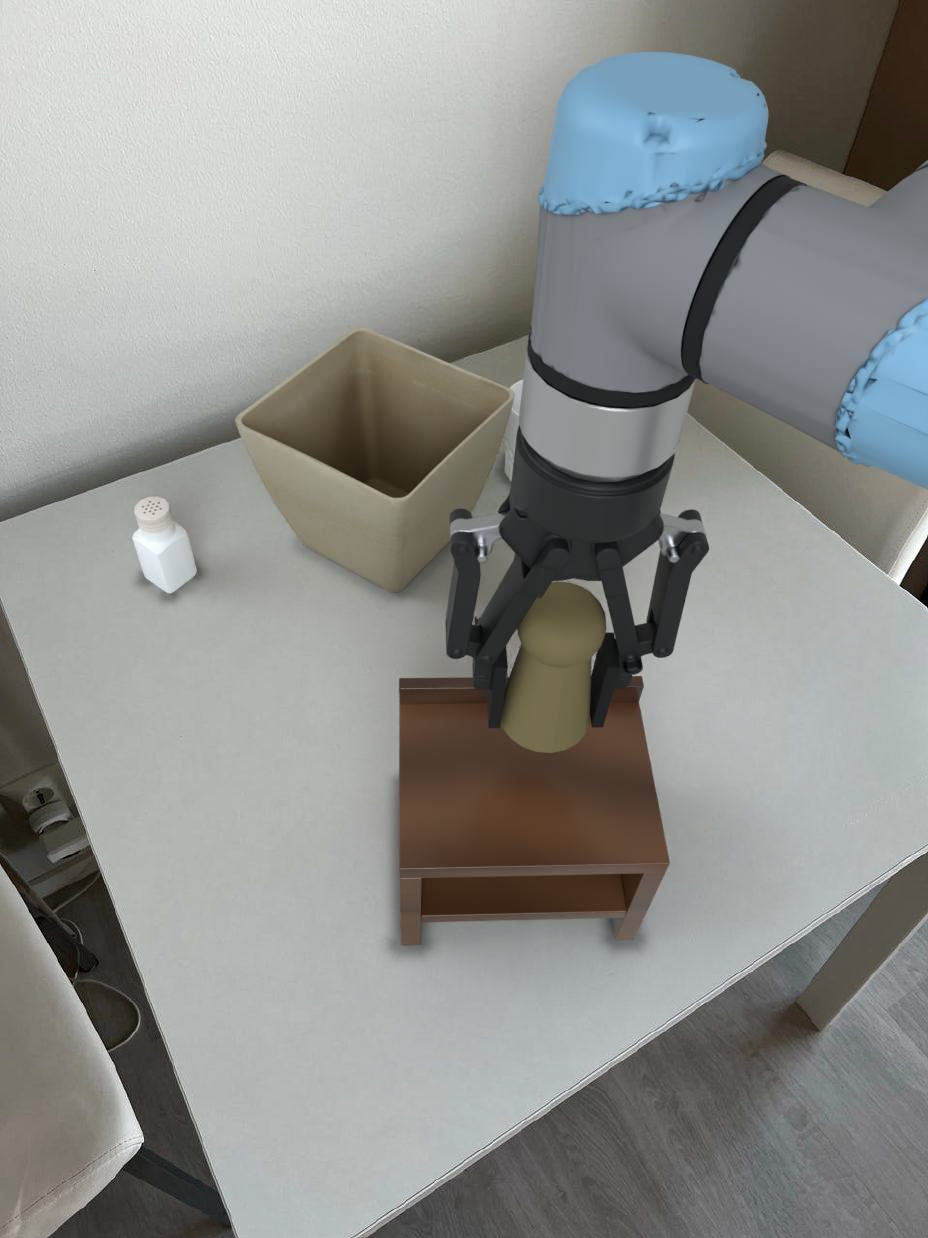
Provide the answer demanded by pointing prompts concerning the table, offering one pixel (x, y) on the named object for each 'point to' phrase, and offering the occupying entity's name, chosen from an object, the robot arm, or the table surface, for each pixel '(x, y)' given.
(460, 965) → the table surface
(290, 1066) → the table surface
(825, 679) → the table surface
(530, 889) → the miniature wooden nightstand
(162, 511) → the salt shaker
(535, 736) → the olive pawn
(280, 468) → the flower pot
